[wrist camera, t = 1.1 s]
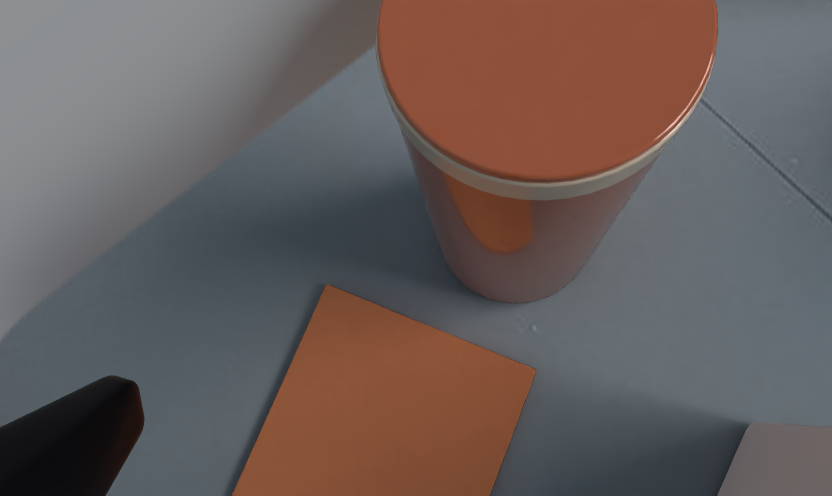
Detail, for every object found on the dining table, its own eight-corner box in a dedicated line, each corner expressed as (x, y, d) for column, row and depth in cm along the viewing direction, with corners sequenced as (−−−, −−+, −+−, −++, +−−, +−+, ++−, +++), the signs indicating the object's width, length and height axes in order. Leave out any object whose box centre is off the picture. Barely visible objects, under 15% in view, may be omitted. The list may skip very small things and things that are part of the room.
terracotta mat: (448, 604, 20) (447, 607, 20) (233, 497, 22) (229, 499, 22) (536, 370, 22) (536, 369, 21) (328, 285, 23) (326, 283, 23)
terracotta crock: (562, 329, 22) (657, 234, 9) (412, 270, 23) (318, 114, 11) (616, 183, 23) (768, -78, 10) (470, 133, 24) (447, -158, 12)
